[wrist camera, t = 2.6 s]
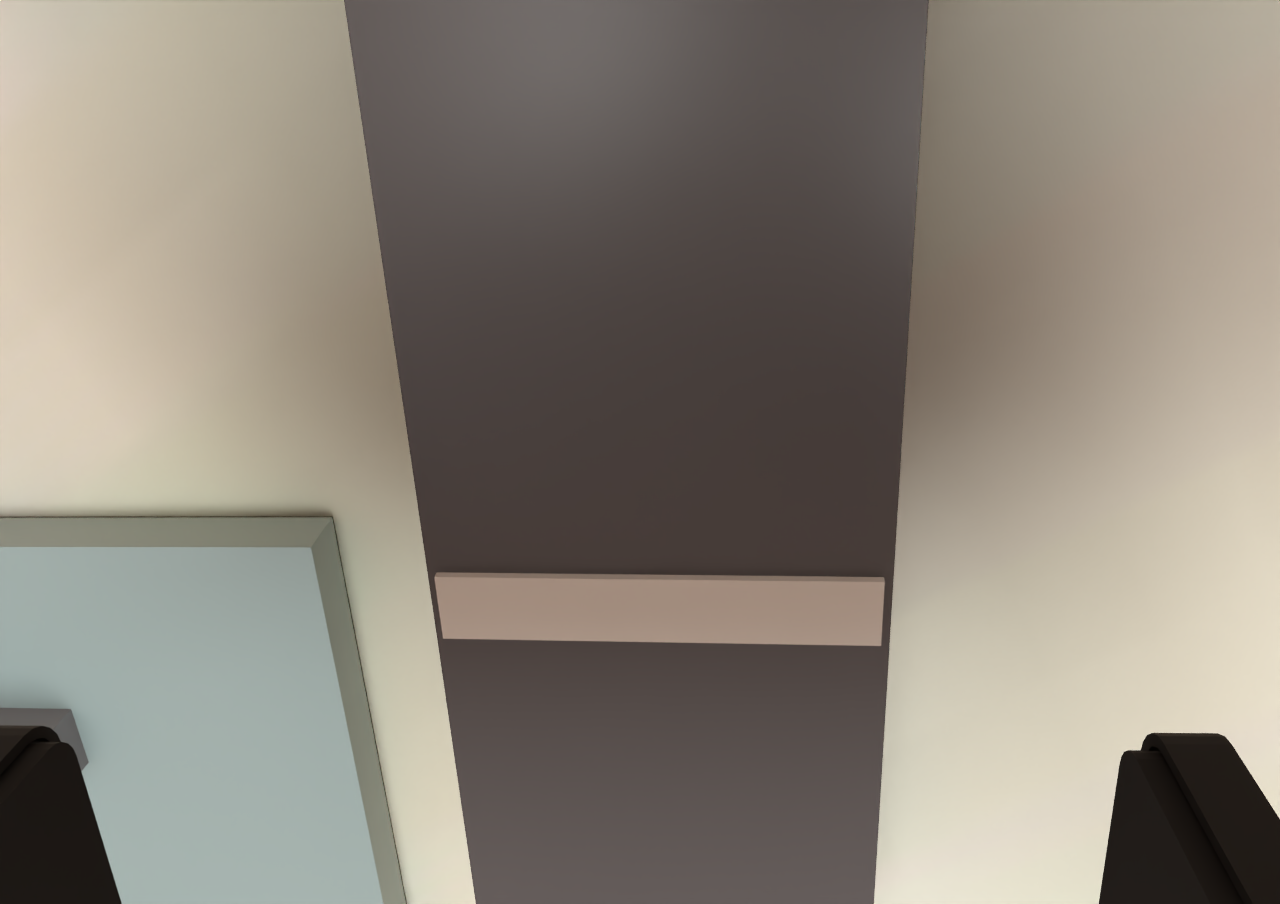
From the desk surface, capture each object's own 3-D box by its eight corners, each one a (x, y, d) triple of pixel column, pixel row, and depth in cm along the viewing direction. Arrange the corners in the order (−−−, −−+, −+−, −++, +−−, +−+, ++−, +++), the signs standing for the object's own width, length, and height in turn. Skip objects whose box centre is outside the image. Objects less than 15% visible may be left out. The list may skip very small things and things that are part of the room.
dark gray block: (458, -371, 14) (257, -565, 8) (879, -403, 13) (968, -635, 8) (574, 865, 22) (513, 1177, 17) (830, 874, 22) (856, 1201, 16)
